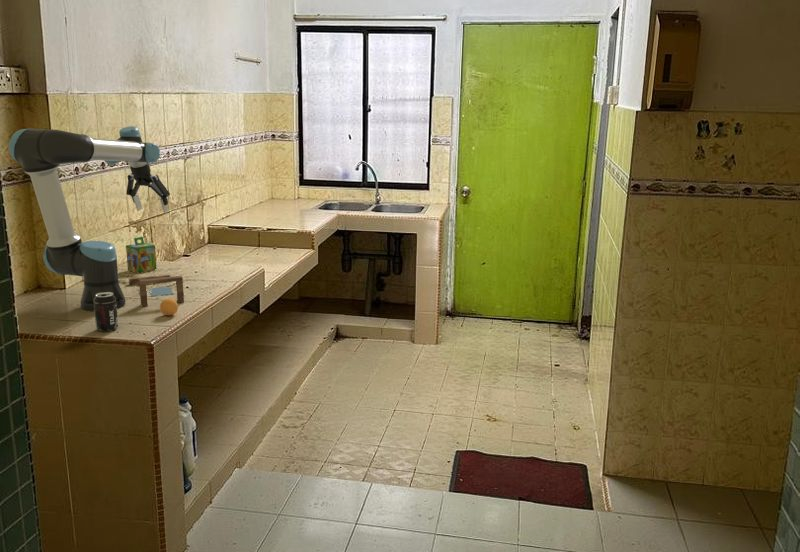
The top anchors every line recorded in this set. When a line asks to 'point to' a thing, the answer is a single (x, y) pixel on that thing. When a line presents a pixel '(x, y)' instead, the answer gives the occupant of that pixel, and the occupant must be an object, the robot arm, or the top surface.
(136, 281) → the wall
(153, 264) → the chalk box
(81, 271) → the robot arm
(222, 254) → the top surface
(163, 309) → the ball
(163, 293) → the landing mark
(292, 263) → the top surface
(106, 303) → the beverage can
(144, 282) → the bridge
